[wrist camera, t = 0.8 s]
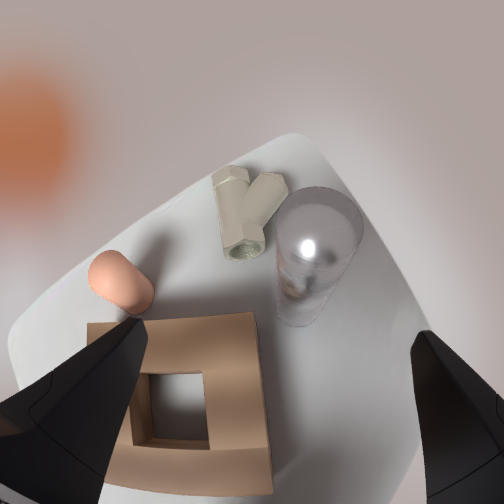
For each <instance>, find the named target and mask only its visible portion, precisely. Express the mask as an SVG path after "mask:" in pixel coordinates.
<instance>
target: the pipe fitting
mask: <svg viewBox="0 0 504 504" xmlns="http://www.w3.org/2000/svg"><path fill="white" fill-rule="evenodd" d="M211 176H212V183H213V189H214V195H215V199H216V205H217V211H218V217H219V223H220V229H221V238H222V244H223V250H224V256H225V259H228V260H233V261H243V260H248V259H252V258H254V257H257V256H259V255H260V254H262V253H263V252H264V251H265V237H264V233H263V227H264V226H265V225H266V223H267V222H268V221H269V219H270V218H271V217H272V215H273V214H274V213H275V212H276V210H277V209H278V208H279V206H280V205H281V204H282V202H283V201H284V200H285V198H286V197H287V196H288V188H287V185H286V184H285V181H284V177H283V176H282V175H280V174H273V173H270V172H263V173H261V174H260V175H259V176H258V177H257V178H256V179H255V180H254V182H253V183H252V184H251V185H250V179H249V175H248V171H247V169H244V168H241V167H238V166H232V165H228V166H225V167H223V168H221V169H219V170H218V171H216V172H215V173H214V174H212V175H211Z"/></svg>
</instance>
